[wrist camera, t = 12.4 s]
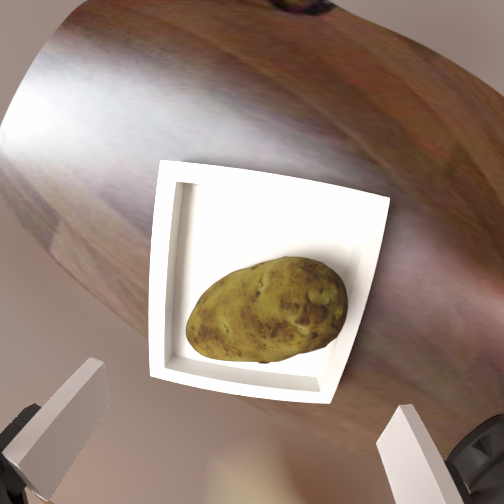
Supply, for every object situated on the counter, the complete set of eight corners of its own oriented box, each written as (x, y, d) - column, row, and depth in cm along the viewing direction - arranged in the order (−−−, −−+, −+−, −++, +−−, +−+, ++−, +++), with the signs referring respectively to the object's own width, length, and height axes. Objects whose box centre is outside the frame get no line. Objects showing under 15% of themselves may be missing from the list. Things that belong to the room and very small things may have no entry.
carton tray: (324, 382, 28) (330, 403, 24) (161, 357, 28) (150, 375, 25) (374, 196, 23) (390, 198, 20) (174, 163, 24) (160, 160, 20)
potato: (180, 258, 25) (144, 289, 17) (328, 239, 24) (357, 264, 16) (198, 340, 26) (176, 392, 18) (333, 327, 25) (355, 377, 17)
